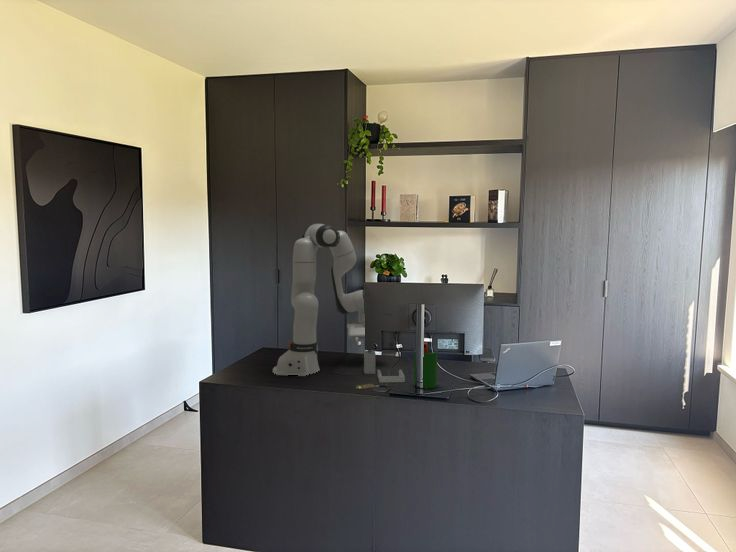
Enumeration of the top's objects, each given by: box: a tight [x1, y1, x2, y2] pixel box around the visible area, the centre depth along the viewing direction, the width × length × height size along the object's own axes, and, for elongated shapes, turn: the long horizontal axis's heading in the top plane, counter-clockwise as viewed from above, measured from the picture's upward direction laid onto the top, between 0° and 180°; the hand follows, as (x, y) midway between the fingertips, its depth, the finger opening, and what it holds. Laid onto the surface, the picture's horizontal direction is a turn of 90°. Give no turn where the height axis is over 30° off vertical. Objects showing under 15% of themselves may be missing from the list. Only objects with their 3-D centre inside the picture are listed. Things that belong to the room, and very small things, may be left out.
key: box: [355, 383, 375, 390], centre depth 232 cm, size 8×3×1 cm, turn 119°
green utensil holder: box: [413, 342, 439, 390], centre depth 233 cm, size 10×9×20 cm
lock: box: [363, 349, 376, 375], centre depth 254 cm, size 5×6×11 cm
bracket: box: [376, 369, 406, 384], centre depth 244 cm, size 11×11×2 cm
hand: (368, 345), depth 260 cm, fingers open, 8 cm apart
